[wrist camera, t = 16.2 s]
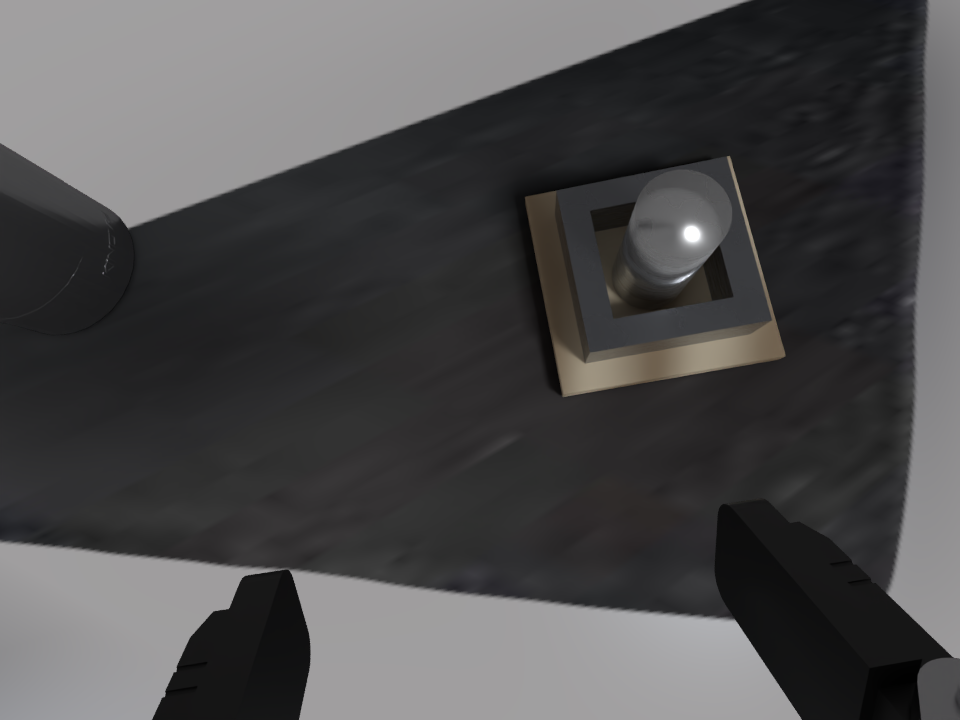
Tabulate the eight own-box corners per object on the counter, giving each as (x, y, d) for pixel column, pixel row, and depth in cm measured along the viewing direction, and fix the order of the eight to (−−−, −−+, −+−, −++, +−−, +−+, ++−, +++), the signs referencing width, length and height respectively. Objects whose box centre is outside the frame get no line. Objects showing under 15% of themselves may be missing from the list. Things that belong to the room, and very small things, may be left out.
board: (562, 396, 32) (563, 394, 31) (525, 204, 34) (524, 196, 33) (777, 359, 31) (785, 356, 30) (724, 165, 34) (729, 155, 33)
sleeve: (584, 363, 31) (589, 352, 28) (554, 215, 33) (556, 190, 30) (749, 334, 31) (772, 320, 28) (709, 184, 32) (726, 156, 29)
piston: (618, 314, 32) (645, 264, 24) (605, 248, 32) (626, 178, 24) (691, 303, 31) (742, 248, 23) (676, 236, 32) (720, 161, 24)
